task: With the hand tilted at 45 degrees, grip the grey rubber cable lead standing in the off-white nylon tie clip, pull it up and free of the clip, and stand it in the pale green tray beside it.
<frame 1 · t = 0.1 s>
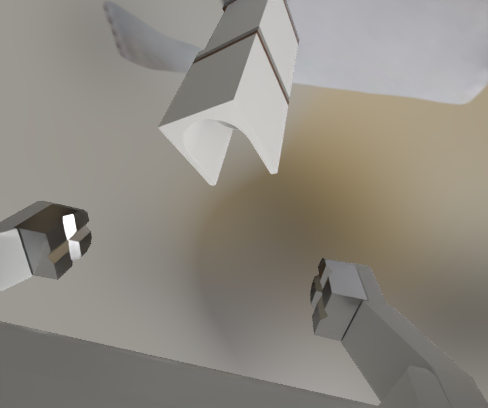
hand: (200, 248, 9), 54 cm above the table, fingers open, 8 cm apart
display case: (263, 21, 52), on the table
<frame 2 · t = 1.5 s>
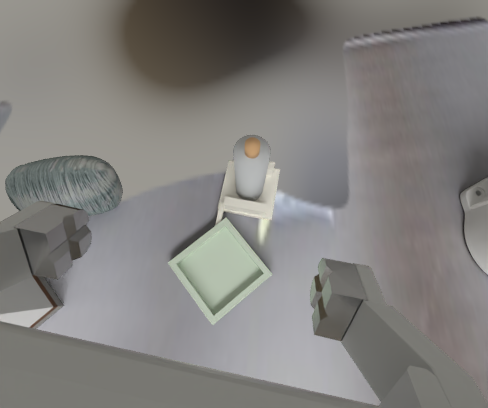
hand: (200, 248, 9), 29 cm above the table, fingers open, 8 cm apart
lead: (249, 188, 40), point 1 cm above the table, touching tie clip
tray: (220, 269, 38), on the table
grey furry rounded block: (85, 196, 41), on the table
display case: (7, 305, 36), on the table
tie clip: (249, 190, 41), on the table
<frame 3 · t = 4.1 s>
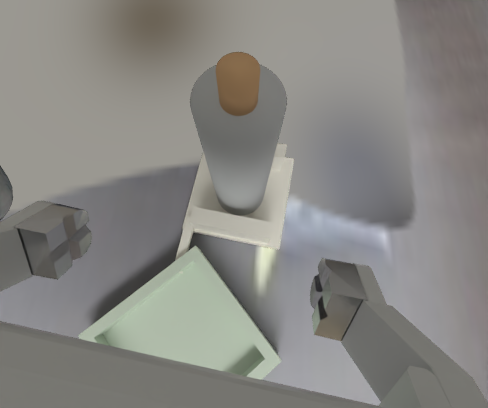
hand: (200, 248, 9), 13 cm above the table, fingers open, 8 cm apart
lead: (240, 192, 23), point 1 cm above the table, touching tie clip
tray: (184, 342, 20), on the table
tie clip: (240, 195, 23), on the table
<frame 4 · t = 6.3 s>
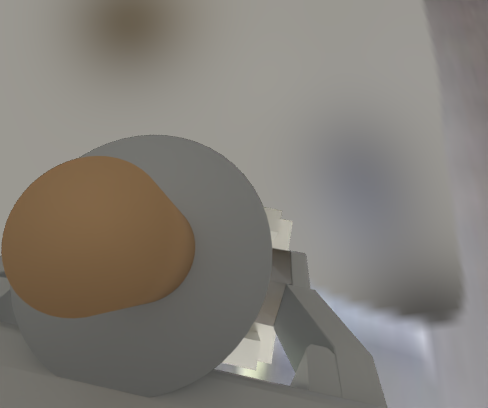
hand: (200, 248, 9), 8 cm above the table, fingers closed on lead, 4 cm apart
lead: (215, 273, 16), point 1 cm above the table, touching gripper, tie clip
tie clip: (216, 273, 16), on the table
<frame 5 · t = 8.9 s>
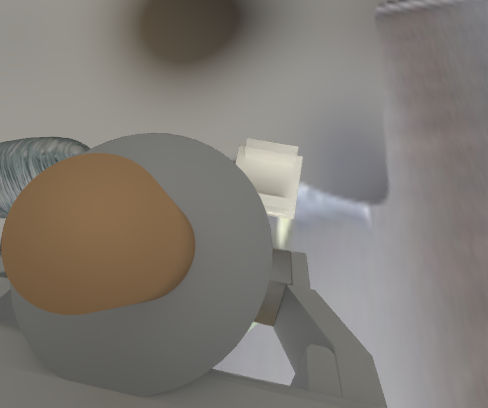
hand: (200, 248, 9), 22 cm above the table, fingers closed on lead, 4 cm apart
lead: (215, 272, 16), point 15 cm above the table, touching gripper
grey furry rounded block: (62, 190, 33), on the table
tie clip: (264, 182, 33), on the table
when the fingers open (9 cm above the table, at t = 11.7 s): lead drops 1 cm, resting on tray.
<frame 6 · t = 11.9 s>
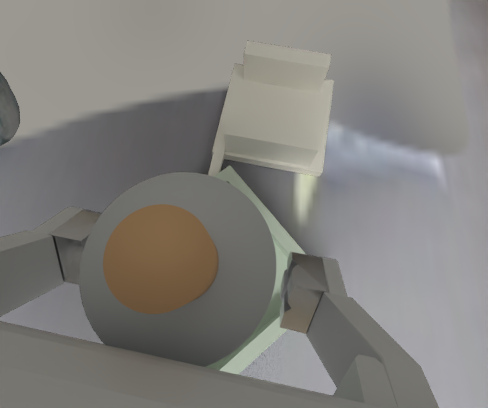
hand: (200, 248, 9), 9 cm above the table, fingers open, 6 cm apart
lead: (216, 273, 17), point 1 cm above the table, touching tray
tray: (217, 274, 18), on the table
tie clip: (274, 120, 21), on the table
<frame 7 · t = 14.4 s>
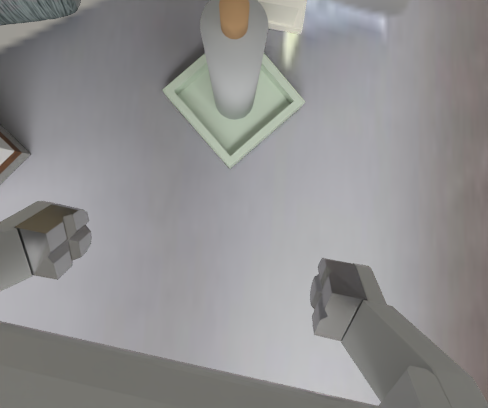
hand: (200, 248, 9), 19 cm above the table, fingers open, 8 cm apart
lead: (234, 100, 28), point 1 cm above the table, touching tray
tray: (234, 102, 28), on the table
grey furry rounded block: (27, 3, 28), on the table
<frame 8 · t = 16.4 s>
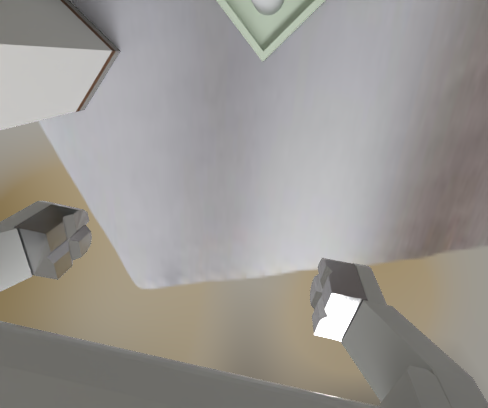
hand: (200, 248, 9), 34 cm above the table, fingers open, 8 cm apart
display case: (71, 54, 40), on the table
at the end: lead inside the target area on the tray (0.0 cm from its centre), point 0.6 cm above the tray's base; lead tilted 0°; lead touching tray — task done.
